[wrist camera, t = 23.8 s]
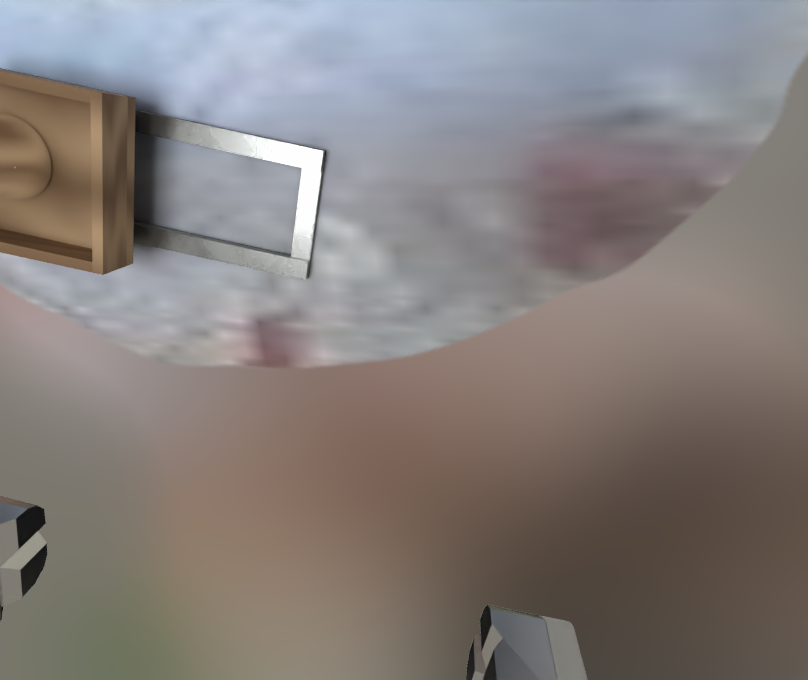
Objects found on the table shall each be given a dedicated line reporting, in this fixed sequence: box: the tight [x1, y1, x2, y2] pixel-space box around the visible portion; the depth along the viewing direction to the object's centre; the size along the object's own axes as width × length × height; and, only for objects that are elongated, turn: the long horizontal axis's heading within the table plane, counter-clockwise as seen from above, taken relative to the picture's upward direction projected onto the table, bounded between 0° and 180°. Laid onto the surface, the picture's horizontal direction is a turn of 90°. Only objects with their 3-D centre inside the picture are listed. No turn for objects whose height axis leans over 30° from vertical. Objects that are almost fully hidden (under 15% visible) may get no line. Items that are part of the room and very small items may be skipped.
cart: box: [0, 68, 136, 275], centre depth 40 cm, size 13×13×6 cm
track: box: [133, 109, 326, 280], centre depth 43 cm, size 11×27×2 cm, turn 78°
